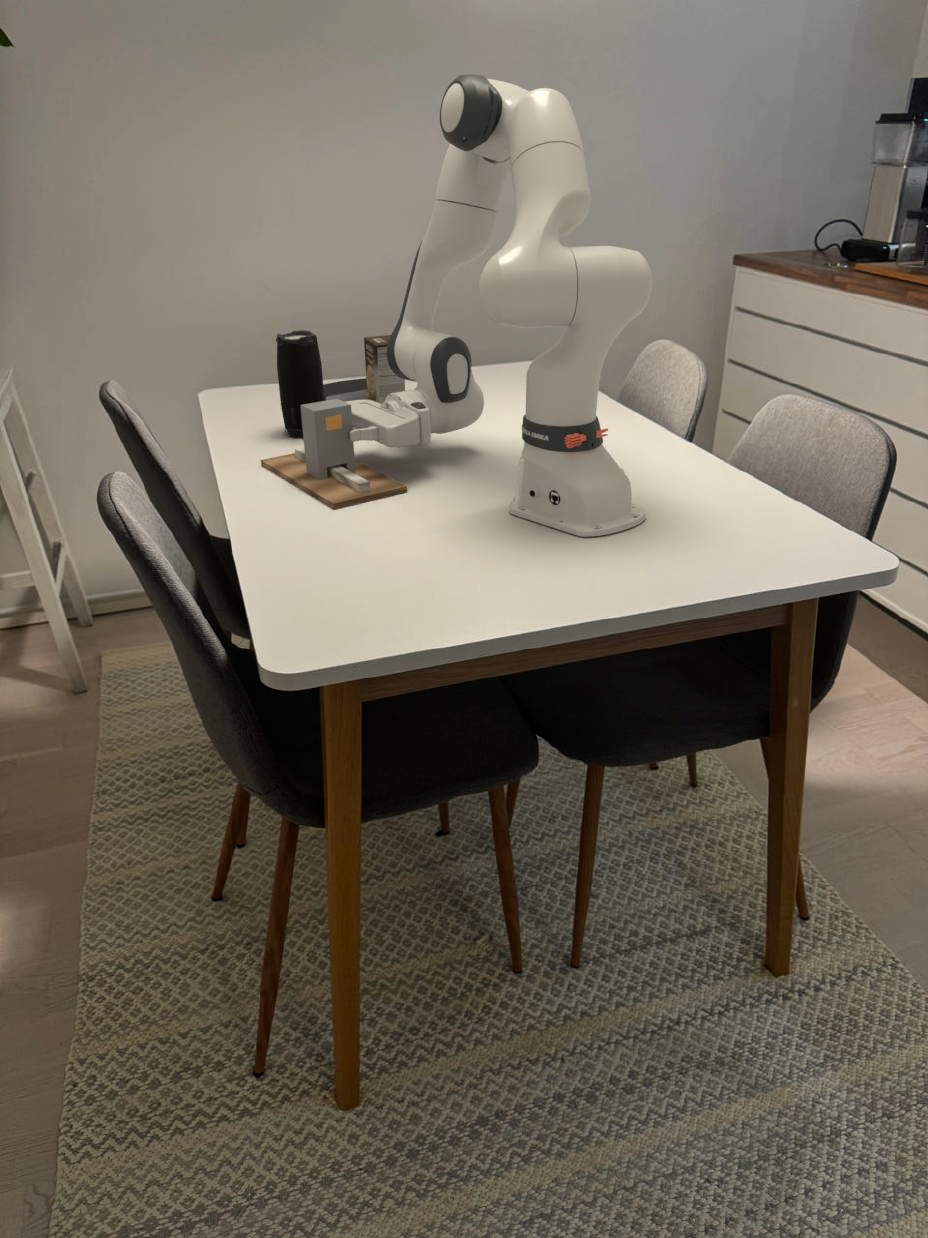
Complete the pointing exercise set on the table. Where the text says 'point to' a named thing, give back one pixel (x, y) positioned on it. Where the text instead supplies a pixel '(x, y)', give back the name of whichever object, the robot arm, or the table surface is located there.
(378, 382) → the coffee box
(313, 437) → the block
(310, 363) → the portable speaker
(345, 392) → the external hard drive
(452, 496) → the table surface
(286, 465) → the rail
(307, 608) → the table surface
